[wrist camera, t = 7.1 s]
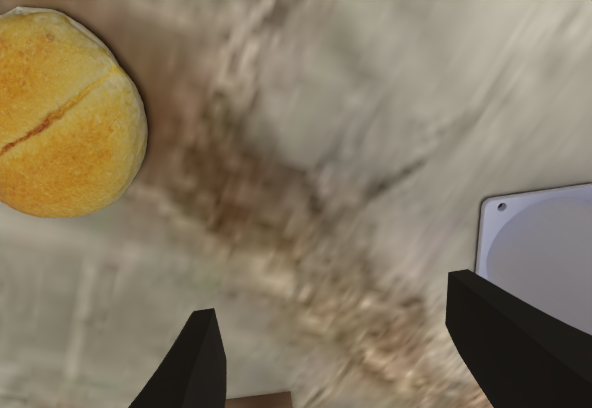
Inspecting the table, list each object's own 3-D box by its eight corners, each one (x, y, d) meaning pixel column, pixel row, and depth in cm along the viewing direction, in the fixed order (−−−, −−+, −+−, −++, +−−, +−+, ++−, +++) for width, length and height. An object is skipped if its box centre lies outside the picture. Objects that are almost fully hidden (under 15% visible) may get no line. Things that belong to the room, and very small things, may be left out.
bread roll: (51, 227, 22) (12, 269, 18) (-85, 67, 18) (-169, 79, 15) (188, 158, 21) (175, 187, 17) (74, -24, 17) (27, -35, 14)
